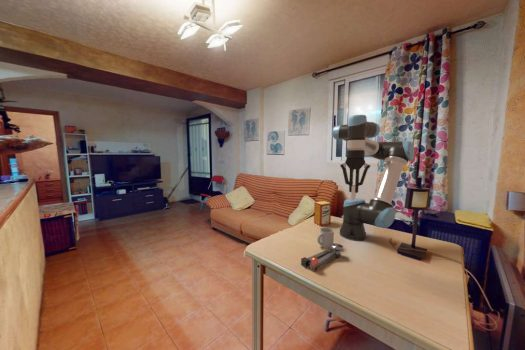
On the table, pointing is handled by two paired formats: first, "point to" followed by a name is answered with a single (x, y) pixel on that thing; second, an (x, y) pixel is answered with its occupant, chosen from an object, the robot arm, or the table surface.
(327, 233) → the cup
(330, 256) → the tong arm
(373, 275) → the table surface
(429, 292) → the table surface
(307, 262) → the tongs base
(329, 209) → the baking soda box
